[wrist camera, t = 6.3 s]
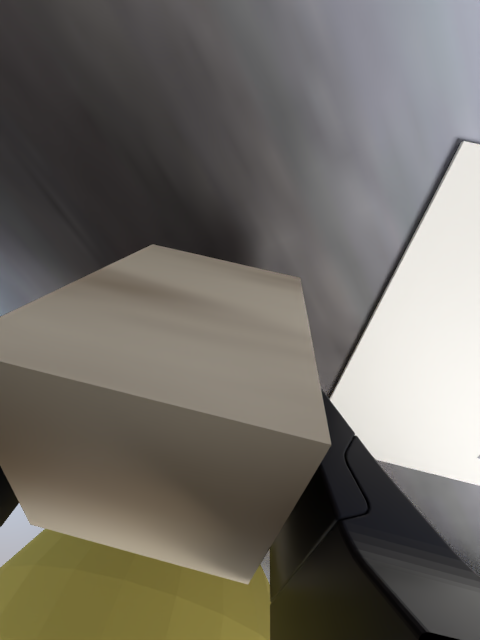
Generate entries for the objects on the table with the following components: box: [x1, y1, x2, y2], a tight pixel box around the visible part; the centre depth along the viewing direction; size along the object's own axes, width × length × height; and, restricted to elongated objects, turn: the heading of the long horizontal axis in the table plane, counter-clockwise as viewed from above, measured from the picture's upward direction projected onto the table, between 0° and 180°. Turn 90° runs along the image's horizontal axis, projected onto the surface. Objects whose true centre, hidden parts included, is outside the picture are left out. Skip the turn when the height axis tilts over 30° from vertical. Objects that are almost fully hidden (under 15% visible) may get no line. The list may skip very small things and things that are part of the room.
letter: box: [329, 141, 480, 486], centre depth 10 cm, size 14×10×1 cm
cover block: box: [0, 244, 331, 584], centre depth 7 cm, size 5×5×6 cm
